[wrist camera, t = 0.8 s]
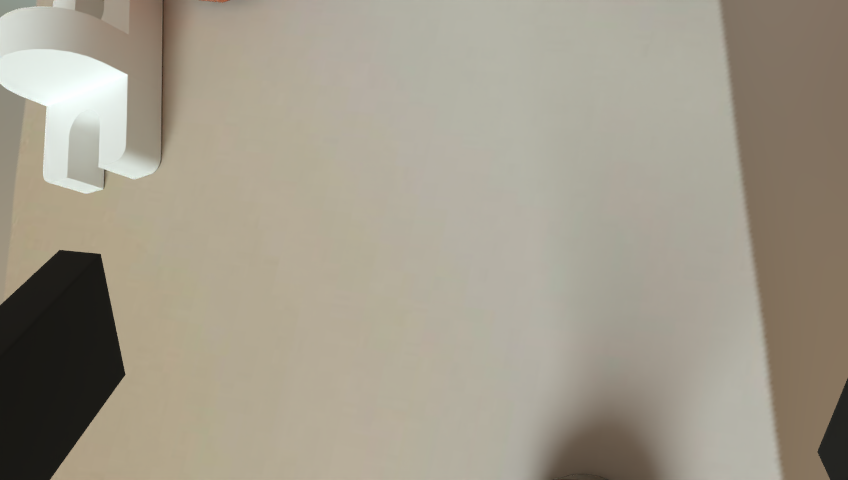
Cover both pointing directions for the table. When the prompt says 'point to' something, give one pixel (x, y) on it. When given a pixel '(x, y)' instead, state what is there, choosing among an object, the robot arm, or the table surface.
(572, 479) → the dark brown post
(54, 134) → the slotted bracket
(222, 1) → the bowl
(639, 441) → the table surface
